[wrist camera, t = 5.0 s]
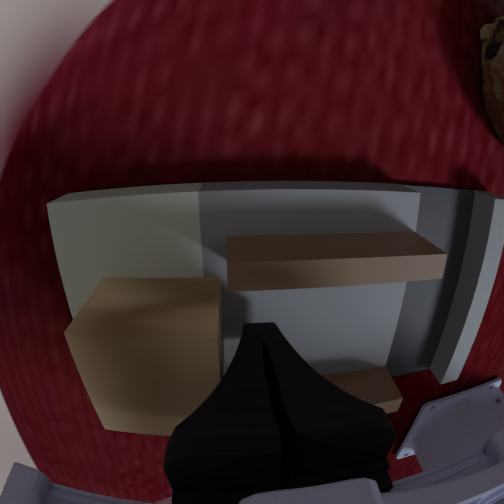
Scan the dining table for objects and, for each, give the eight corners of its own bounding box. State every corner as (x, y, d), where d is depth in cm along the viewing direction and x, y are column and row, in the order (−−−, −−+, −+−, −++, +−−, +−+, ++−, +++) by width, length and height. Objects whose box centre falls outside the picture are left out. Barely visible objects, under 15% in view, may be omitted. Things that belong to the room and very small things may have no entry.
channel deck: (488, 191, 14) (543, 214, 10) (443, 362, 19) (474, 403, 14) (67, 193, 13) (13, 221, 9) (116, 387, 17) (97, 442, 13)
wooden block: (220, 276, 13) (217, 337, 9) (225, 370, 15) (226, 436, 11) (103, 278, 12) (63, 332, 9) (125, 368, 14) (105, 429, 11)
